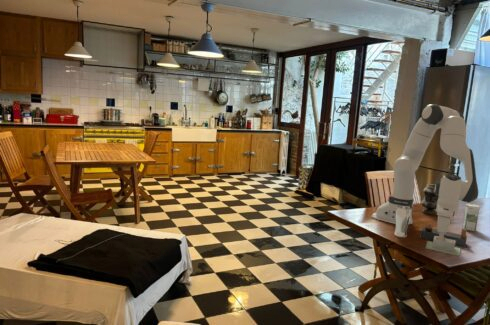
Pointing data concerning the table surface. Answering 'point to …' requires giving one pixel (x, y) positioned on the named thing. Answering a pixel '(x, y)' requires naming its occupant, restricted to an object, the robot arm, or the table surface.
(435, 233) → the plane body
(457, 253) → the rubber mat
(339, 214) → the table surface
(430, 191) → the apothecary jar
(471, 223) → the syrup box
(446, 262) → the table surface
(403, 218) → the beer glass
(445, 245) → the lever cap
